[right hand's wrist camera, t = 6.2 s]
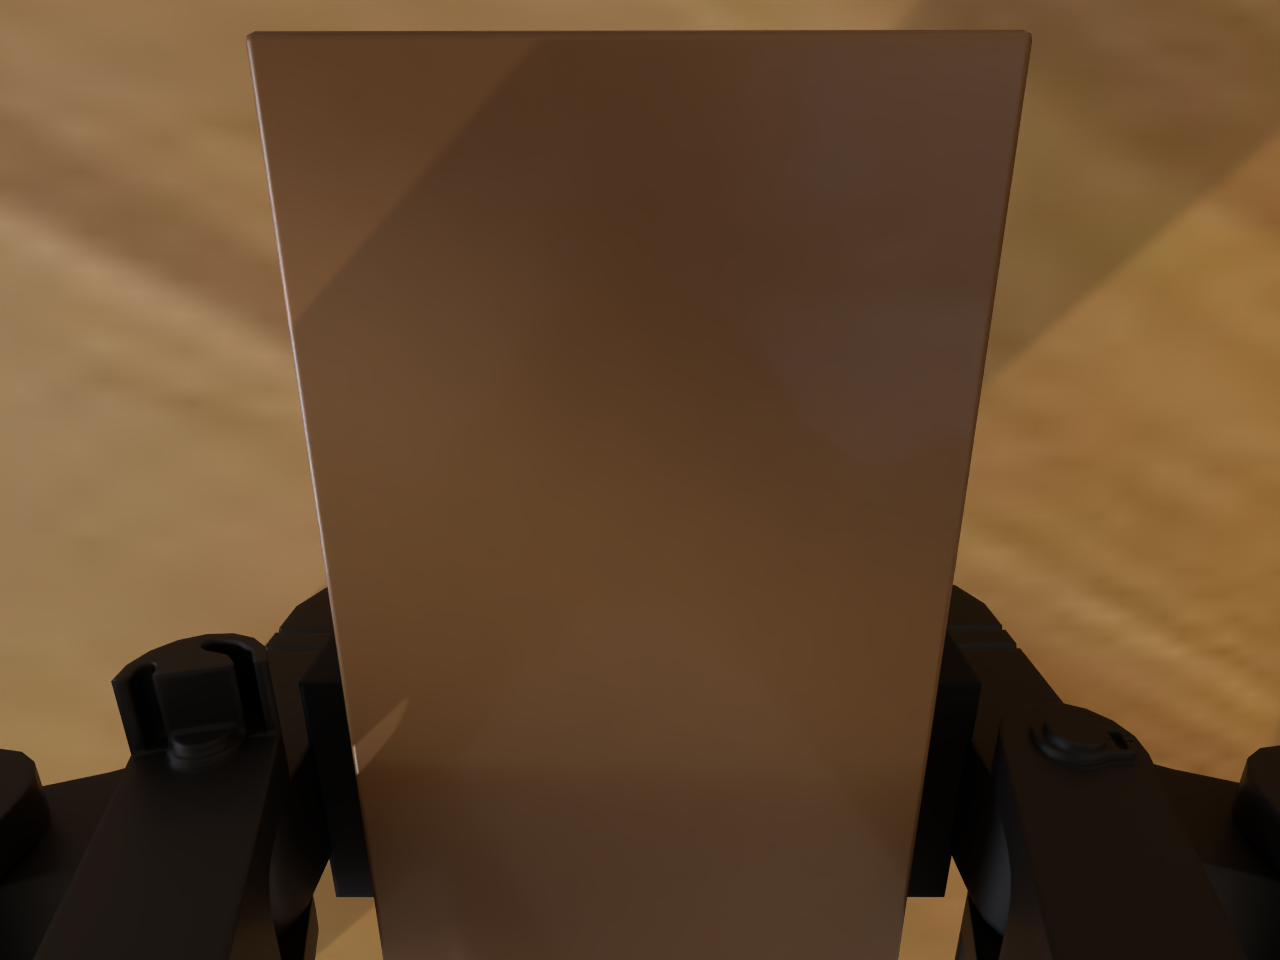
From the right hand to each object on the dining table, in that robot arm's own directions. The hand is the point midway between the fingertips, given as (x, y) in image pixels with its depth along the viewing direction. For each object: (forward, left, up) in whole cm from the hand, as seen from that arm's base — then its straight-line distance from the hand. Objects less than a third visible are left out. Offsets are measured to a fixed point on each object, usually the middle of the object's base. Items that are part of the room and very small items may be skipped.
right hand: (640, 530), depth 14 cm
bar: (+13, +23, -1) cm, 26 cm away
